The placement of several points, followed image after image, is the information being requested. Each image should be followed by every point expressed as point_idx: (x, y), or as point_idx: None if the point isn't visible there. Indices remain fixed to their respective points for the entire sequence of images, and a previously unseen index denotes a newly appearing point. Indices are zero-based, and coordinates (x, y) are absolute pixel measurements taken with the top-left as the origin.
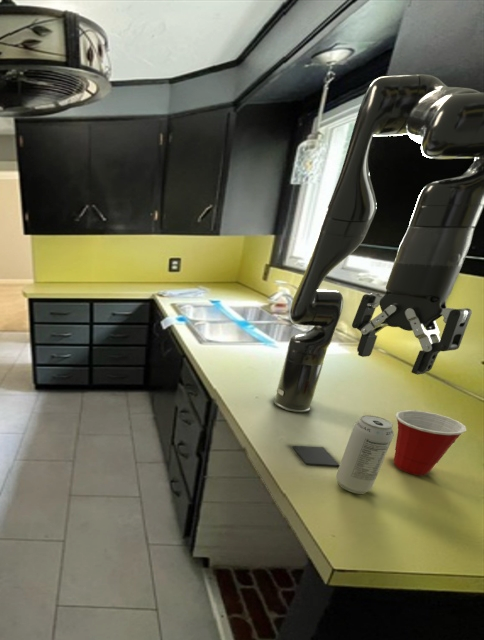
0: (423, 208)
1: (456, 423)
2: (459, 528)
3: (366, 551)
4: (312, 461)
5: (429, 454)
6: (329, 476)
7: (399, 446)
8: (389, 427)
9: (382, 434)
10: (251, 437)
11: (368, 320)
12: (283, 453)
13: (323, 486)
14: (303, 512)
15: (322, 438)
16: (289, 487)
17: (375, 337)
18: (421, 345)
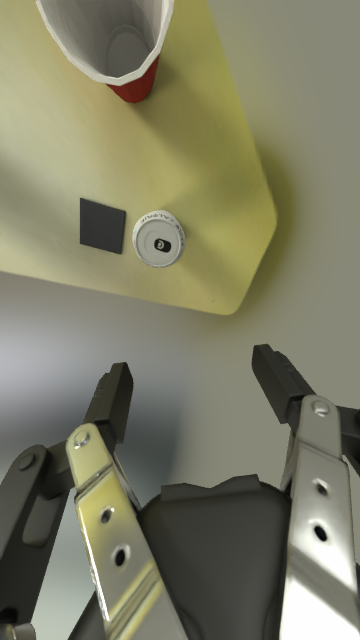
0: None
1: None
2: (243, 164)
3: (231, 289)
4: (116, 243)
5: (156, 63)
6: None
7: (116, 91)
8: (177, 238)
9: (181, 251)
10: (62, 281)
11: (36, 493)
12: (97, 264)
13: None
14: (187, 305)
15: (46, 169)
16: (156, 296)
17: (113, 416)
18: (289, 442)
